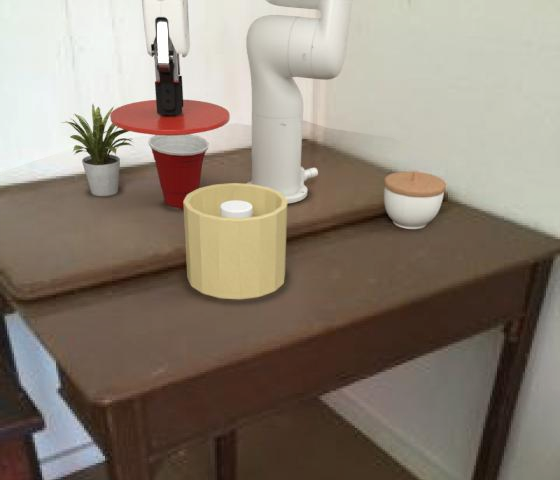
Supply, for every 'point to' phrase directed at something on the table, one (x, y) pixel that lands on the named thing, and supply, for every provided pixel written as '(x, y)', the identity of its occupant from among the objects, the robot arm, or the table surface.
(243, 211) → the pill bottle
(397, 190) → the trinket box
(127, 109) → the lid
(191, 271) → the tin
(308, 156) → the table surface
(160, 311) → the table surface
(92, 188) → the house plant
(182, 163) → the plastic cup
